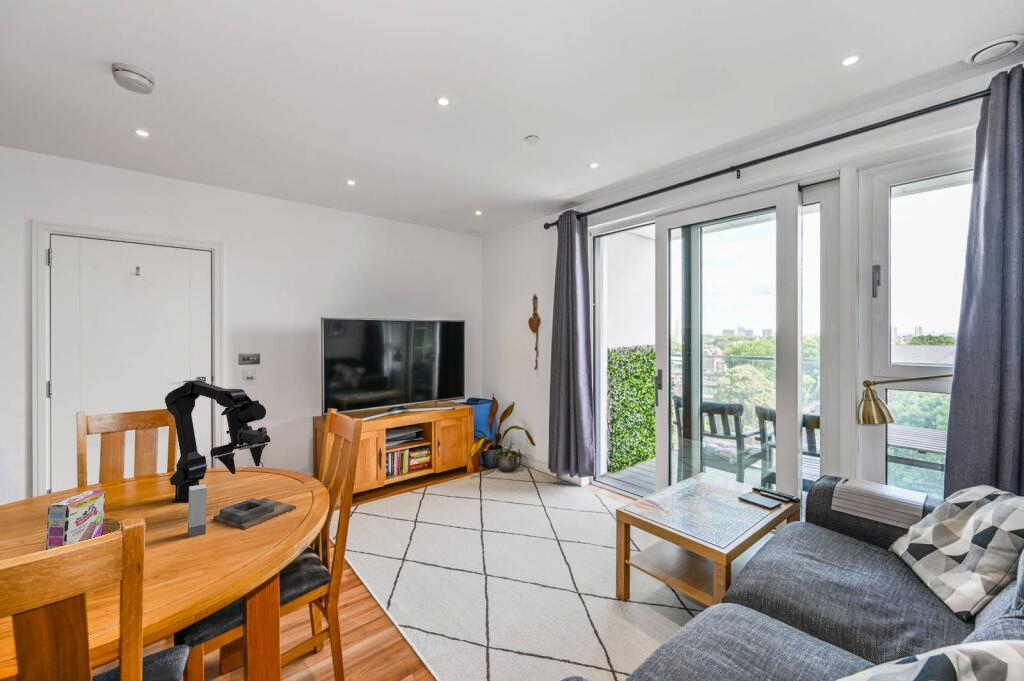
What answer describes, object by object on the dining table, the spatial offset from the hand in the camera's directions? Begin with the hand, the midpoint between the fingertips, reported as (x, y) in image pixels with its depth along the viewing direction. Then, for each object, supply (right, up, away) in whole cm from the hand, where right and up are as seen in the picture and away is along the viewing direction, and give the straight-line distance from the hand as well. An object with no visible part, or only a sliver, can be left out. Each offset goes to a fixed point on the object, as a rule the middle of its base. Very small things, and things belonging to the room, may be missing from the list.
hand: (246, 470), depth 146 cm
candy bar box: (-24, -13, -34) cm, 44 cm away
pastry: (-30, -13, -20) cm, 38 cm away
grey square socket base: (+5, -14, -3) cm, 15 cm away
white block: (-4, -14, -18) cm, 23 cm away
